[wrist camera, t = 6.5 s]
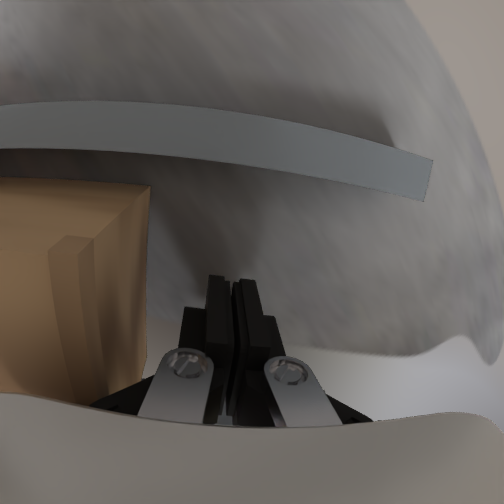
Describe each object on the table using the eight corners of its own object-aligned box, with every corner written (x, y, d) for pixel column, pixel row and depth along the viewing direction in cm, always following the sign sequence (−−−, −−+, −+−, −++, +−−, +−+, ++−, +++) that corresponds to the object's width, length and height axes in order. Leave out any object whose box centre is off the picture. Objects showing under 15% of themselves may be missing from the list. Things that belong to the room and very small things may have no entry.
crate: (151, 360, 14) (125, 491, 8) (7, 330, 13) (-57, 422, 6) (156, 181, 11) (77, 253, 5) (-14, 172, 10) (-133, 221, 4)
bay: (316, 407, 17) (327, 440, 14) (-5, 360, 14) (-23, 386, 12) (398, 152, 12) (433, 160, 9) (-37, 113, 9) (-71, 116, 7)
